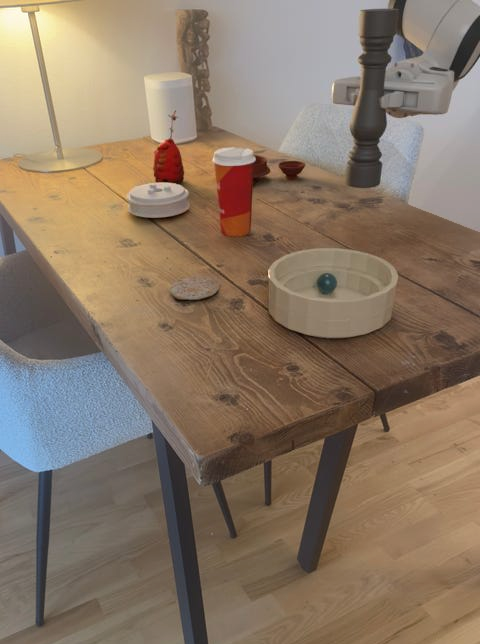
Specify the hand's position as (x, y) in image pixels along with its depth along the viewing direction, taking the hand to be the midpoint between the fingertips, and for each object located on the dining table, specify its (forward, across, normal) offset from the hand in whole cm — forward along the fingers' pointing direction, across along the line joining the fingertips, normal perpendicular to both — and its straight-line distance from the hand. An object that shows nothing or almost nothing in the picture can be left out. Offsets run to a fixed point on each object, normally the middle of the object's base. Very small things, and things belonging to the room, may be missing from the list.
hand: (367, 101), depth 92 cm
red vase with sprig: (-3, -52, +21) cm, 56 cm away
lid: (+13, -38, +21) cm, 46 cm away
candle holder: (-1, 0, +13) cm, 13 cm away
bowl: (+30, +13, +22) cm, 39 cm away
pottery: (-18, -35, +22) cm, 45 cm away
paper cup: (+13, -18, +22) cm, 31 cm away
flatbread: (+37, -7, +21) cm, 43 cm away
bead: (+26, +10, +19) cm, 34 cm away
